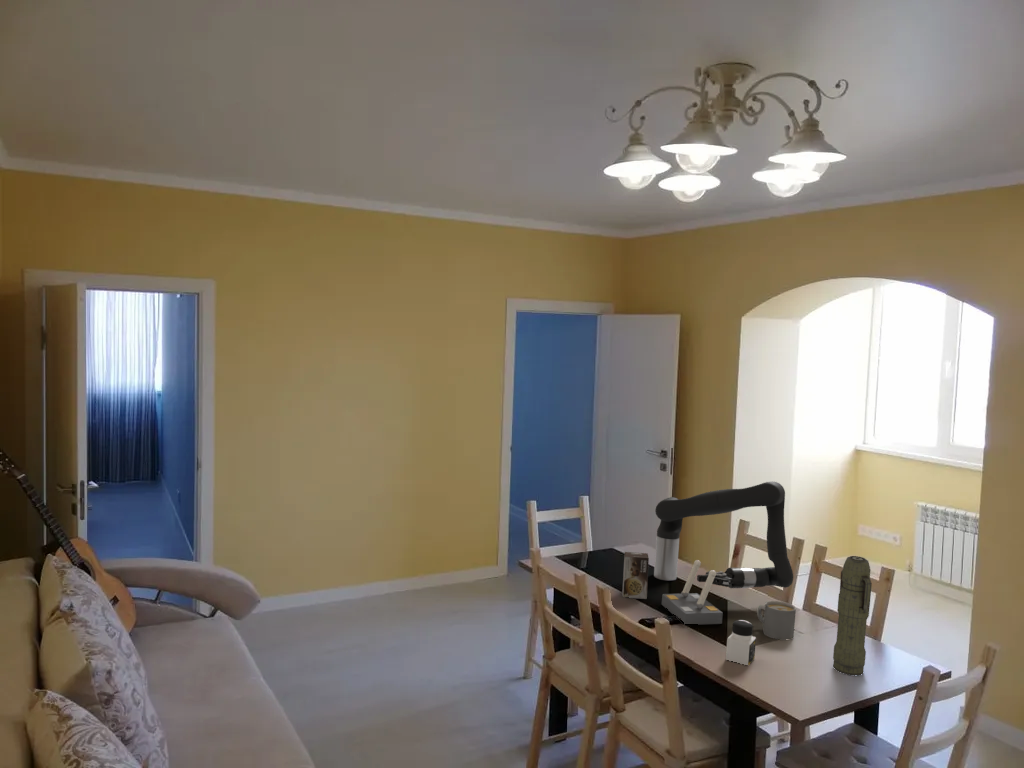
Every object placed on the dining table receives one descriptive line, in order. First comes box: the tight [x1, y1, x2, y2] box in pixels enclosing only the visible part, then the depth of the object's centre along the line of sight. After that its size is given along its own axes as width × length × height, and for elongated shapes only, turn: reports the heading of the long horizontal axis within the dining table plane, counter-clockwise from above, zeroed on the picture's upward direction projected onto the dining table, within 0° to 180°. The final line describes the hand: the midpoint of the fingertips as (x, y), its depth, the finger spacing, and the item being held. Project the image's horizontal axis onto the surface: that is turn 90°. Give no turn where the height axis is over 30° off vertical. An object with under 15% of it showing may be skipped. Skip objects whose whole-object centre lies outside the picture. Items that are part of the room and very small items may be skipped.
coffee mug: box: [756, 600, 797, 641], centre depth 266 cm, size 13×10×10 cm
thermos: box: [832, 555, 873, 677], centre depth 237 cm, size 9×12×35 cm
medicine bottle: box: [725, 619, 757, 667], centre depth 241 cm, size 7×7×12 cm
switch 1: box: [680, 559, 702, 598], centre depth 285 cm, size 2×2×14 cm
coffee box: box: [621, 551, 650, 600], centre depth 296 cm, size 9×6×16 cm
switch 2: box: [696, 569, 717, 609], centre depth 274 cm, size 2×2×14 cm
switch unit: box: [661, 592, 724, 625], centre depth 280 cm, size 20×14×4 cm
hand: (698, 578), depth 286 cm, fingers closed
